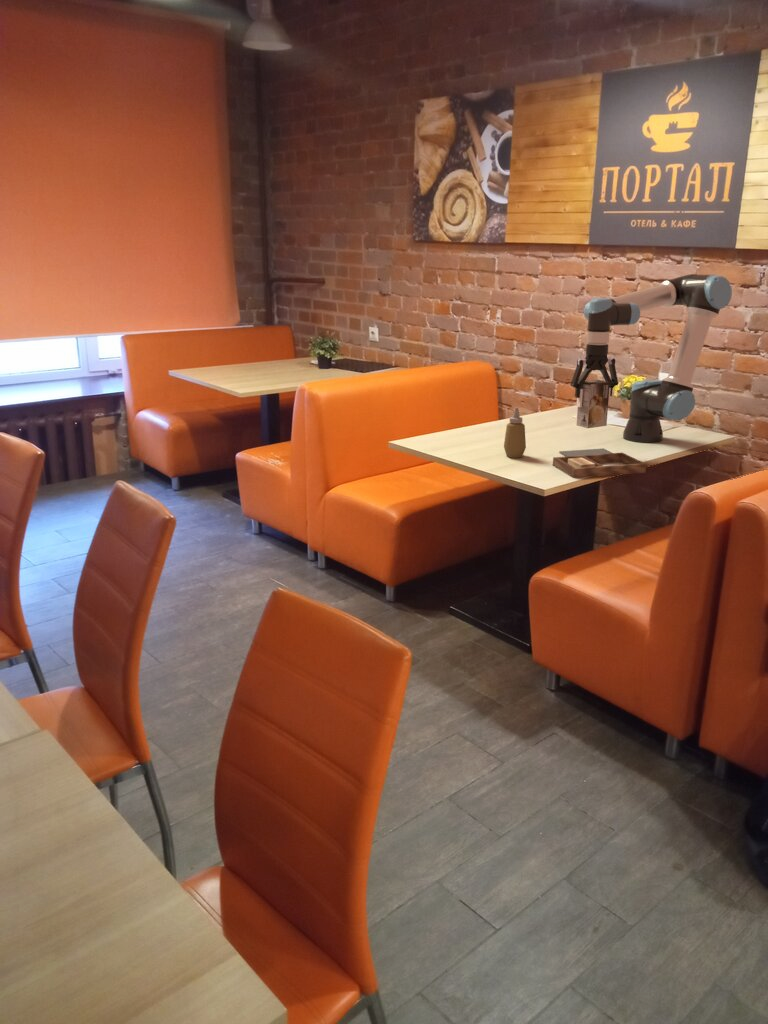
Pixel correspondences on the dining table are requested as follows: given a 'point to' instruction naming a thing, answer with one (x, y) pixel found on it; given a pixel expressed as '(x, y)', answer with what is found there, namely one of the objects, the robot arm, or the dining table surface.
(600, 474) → the wooden tray
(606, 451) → the mat
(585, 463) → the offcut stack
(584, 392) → the coffee box
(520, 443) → the squeeze bottle
